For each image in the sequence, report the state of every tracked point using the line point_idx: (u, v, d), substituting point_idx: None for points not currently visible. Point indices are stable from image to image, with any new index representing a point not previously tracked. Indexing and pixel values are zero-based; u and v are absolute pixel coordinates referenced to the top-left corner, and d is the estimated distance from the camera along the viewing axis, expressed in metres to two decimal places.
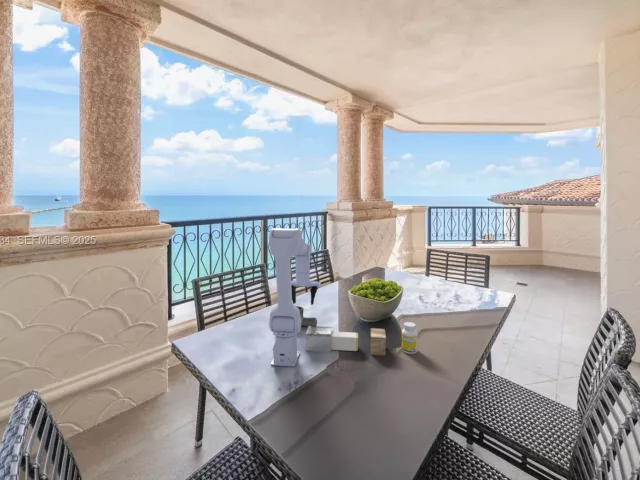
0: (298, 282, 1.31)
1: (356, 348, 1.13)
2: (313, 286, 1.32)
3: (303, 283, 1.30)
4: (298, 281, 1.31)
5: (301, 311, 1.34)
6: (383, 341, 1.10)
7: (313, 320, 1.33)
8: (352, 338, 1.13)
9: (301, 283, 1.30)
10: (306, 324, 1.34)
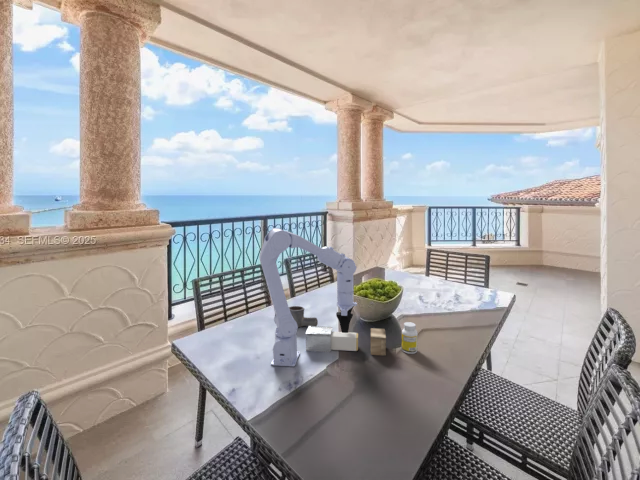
0: None
1: (356, 348, 1.13)
2: None
3: (337, 303, 1.13)
4: None
5: (302, 311, 1.34)
6: (383, 341, 1.10)
7: (314, 320, 1.33)
8: (352, 338, 1.13)
9: (337, 302, 1.14)
10: (307, 324, 1.34)
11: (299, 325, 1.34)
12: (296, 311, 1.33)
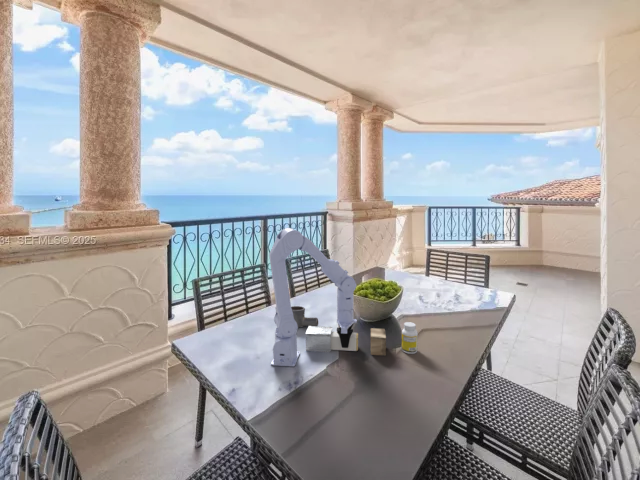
0: None
1: (356, 348, 1.13)
2: None
3: (337, 320, 1.14)
4: None
5: (302, 311, 1.34)
6: (383, 341, 1.10)
7: (314, 320, 1.33)
8: (352, 338, 1.13)
9: (337, 319, 1.15)
10: (308, 324, 1.34)
11: (300, 325, 1.34)
12: (297, 311, 1.33)
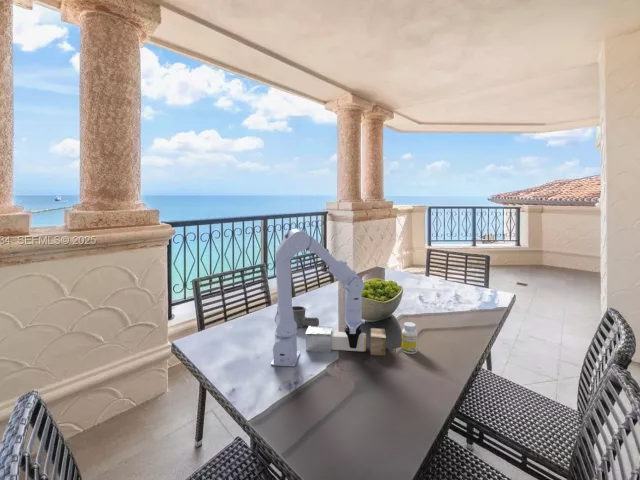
0: None
1: (364, 348, 1.13)
2: None
3: (345, 320, 1.13)
4: None
5: (303, 311, 1.34)
6: (383, 341, 1.10)
7: (315, 320, 1.33)
8: (360, 339, 1.12)
9: (345, 319, 1.14)
10: (308, 324, 1.34)
11: (300, 325, 1.34)
12: (297, 311, 1.33)
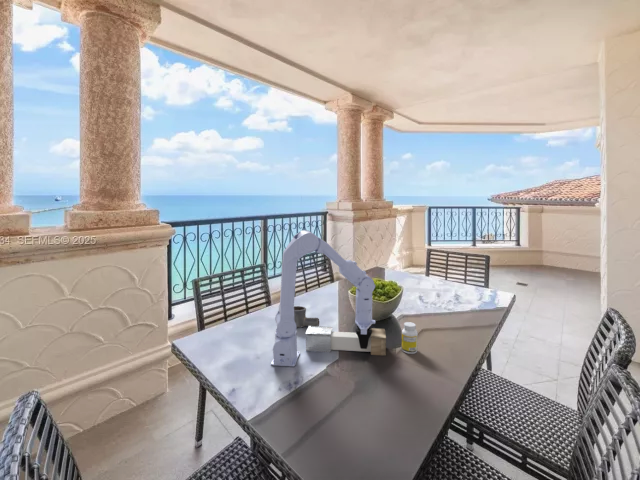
0: None
1: None
2: None
3: (355, 320, 1.13)
4: None
5: (303, 311, 1.33)
6: (383, 341, 1.10)
7: (315, 320, 1.33)
8: None
9: None
10: (309, 324, 1.34)
11: (301, 325, 1.34)
12: (298, 311, 1.32)
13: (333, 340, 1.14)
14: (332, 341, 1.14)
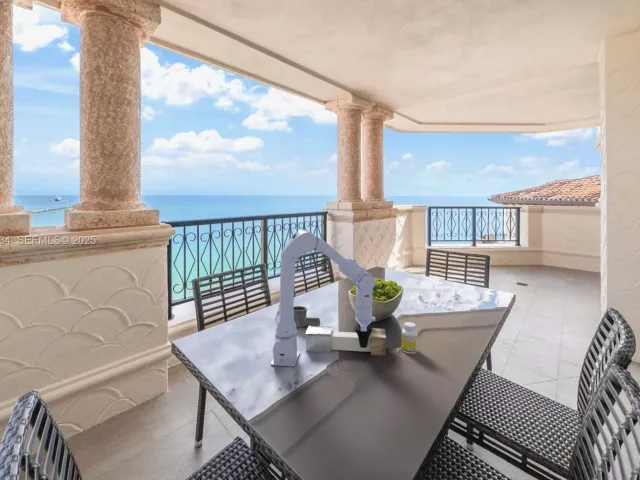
0: None
1: None
2: None
3: (355, 317, 1.13)
4: None
5: (304, 311, 1.33)
6: (383, 341, 1.10)
7: (316, 320, 1.33)
8: None
9: (355, 316, 1.14)
10: (309, 324, 1.33)
11: (302, 325, 1.34)
12: (299, 311, 1.32)
13: (333, 340, 1.14)
14: (332, 341, 1.14)
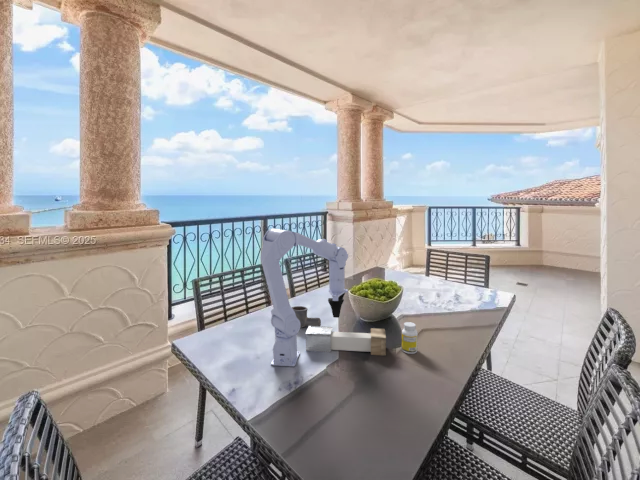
0: None
1: None
2: None
3: (329, 289, 1.20)
4: None
5: (305, 311, 1.33)
6: (383, 341, 1.10)
7: (317, 320, 1.33)
8: None
9: (329, 289, 1.21)
10: (310, 324, 1.33)
11: (302, 325, 1.34)
12: (299, 311, 1.32)
13: (333, 340, 1.14)
14: (332, 341, 1.14)
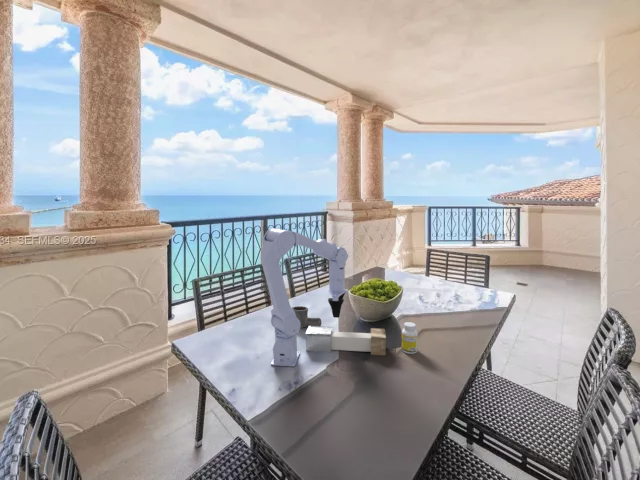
0: None
1: None
2: None
3: (329, 289, 1.20)
4: None
5: (305, 311, 1.33)
6: (383, 341, 1.10)
7: (317, 320, 1.33)
8: None
9: (329, 289, 1.21)
10: (310, 324, 1.33)
11: (303, 325, 1.34)
12: (300, 311, 1.32)
13: (333, 340, 1.14)
14: (332, 341, 1.14)
